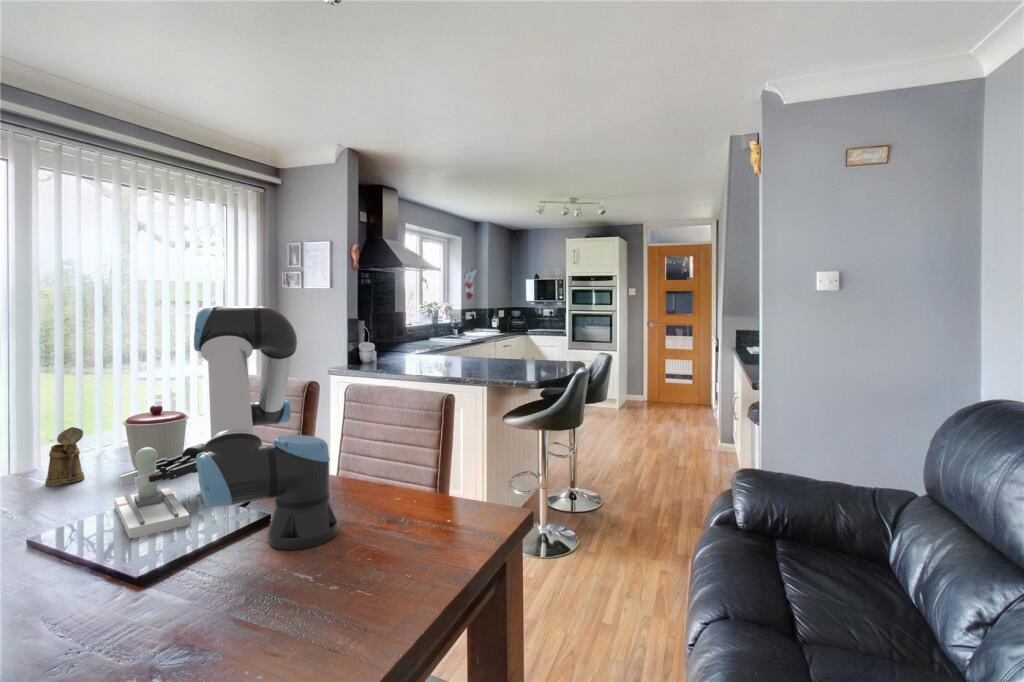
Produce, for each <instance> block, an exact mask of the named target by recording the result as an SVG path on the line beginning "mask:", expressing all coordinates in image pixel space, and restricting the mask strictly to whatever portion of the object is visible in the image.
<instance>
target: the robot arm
mask: <svg viewBox="0 0 1024 682" xmlns="http://www.w3.org/2000/svg"><path fill="white" fill-rule="evenodd" d="M193 334H194V335H193V349H194V351H196V352H199V353H200V355H201V357H202V359H204V360H205V361H207V365H208V388H209V389H208V390H209V391H208V392H209V393H208V395H209V413H210V414H209V418H210V419H209V420H210V439H209V440H207V441H205V442H202V443H199V444H196V445H193V446H190V447H187V448H185V450H183V454H182V455H180V456H176V457H175V458H171V459H167V457H163V458H161V459H160V460H157V461H156V471H153V472H150V473H147V474H144V475H141V476H138V470H134V471H132V472H128V473H126V474H125V473H124V474H122V475H119V476H118V484H119V485H118V487H119V488H123V487H125V486H126V487H127V486H129V485H132V484H134V489H136V490H138V488H141V487H143V486H146V485H149V484H151V483H154V482H157V483H158V482H160V481H161V480H162V481H165V480H168V479H169V480H170V481H172V480H174V479H178V478H180V477H183V476H186V475H189V474H192V473H193V474H195V473H197V474H198V476H197V477H198V482H199V489H200V493H201V497H202V500H203V503H204V504H205V505H206V506H208V507H210V508H213V507H223V506H227V507H229V506H233V505H238V504H244V503H249V502H255V501H259V500H266V499H271V498H275V507H274V511H273V514H272V517H271V521H270V524H269V527H268V529H267V543H268V545H270V546H271V547H272V548H275V549H279V550H283V551H284V550H285V551H286V550H287V551H289V550H290V551H297V550H305V549H309V548H314V547H317V546H319V545H323V544H325V543H327V542H329V541H331V540H332V539H333V538H335V537H336V536H337V534H338V530H339V529H338V520H337V516H336V514H335V512H334V510H333V509H334V508H333V506H332V503H331V501H330V454H329V445H328V442H326V441H325V440H324V439H323V438H320V437H317V436H312V435H304V434H300V435H299V434H287V435H286V434H285V435H280V436H277V437H275V439H274V441H273V444H270V445H263V443H262V439H261V437H260V436H258V435H257V434H256V433H254V427H256V426H269V425H279V424H285V423H288V422H290V420H291V402H290V400H288V399H286V395H287V389H288V382H289V374H290V368H291V360H292V356H294V355H295V353H296V351H297V346H298V345H297V344H298V337H297V333H296V330H295V329H294V326H293V325H292V323H291V322H290V321H289V320H288V318H287V317H286V316H285V315H284V314H282V312H280V311H278V310H276V309H273V308H271V307H268V306H259V305H257V306H245V305H244V306H242V305H241V306H239V305H238V306H237V305H236V306H234V305H212V306H211V305H209V306H202V307H200V308H199V309H198V311H197V313H196V316H195V322H194V333H193ZM253 350H254V351H255V350H259V351H260V353H261V354H262V359H261V360H262V361H261V369H260V371H261V372H260V380H259V381H260V382H259V383H260V384H259V392H258V393H259V394H258V395H259V396H258V401H256V402H255V401H252V402H251V393H250V392H251V391H250V380H249V369H248V359H249V358H250V356H252V354H253Z"/></svg>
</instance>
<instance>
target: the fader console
mask: <svg viewBox="0 0 1024 682" xmlns="http://www.w3.org/2000/svg"><path fill="white" fill-rule="evenodd" d="M157 491H158V492H159V493H160V495H161V496H162V502H159V503H154V504H149V505H144V506H140V507H137V505H136V503H135V502H134V496H136V495H138V493H135V494H130V493H125V494H124V496H119V497H115V498H114V508H116V509H115V511H116V510H117V511H116V513H117V512H118V513H117V515H118V514H119V515H118V517H119V516H120V517H119V519H120V518H121V520H122V522H121V523H123V524H122V526H123V525H124V526H123V528H124V527H125V528H124V530H126V531H125V532H127V533H126V535H127V534H128V535H127V536H129V537H128V539H129V540H131V539H130V538H133V539H136V538H140V536H141V537H145V536H149V535H152V533H153V534H157V533H161V532H160V531H162V532H164V531H163V530H166V531H168V530H167V529H170V528H174V529H176V528H175V527H178V528H180V527H179V526H182V527H185V526H184V525H187V526H189V525H188V524H190V525H191V521H190V519H191V518H190V517H191V516H190V515H191V514H190V513H189V512H188V511H187V509H185V507H184V506H183V505H182V503H181V502H180V501H179V500H178V498H177V497H176V495H175V494H174V493H173V492H172V491H171V490H170V488H169V487H166V488H160V487H158V486H157ZM121 520H120V521H121ZM170 530H171V529H170ZM156 532H157V533H156ZM148 534H149V535H148ZM144 535H145V536H144Z"/></svg>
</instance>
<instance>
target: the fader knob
mask: <svg viewBox="0 0 1024 682" xmlns="http://www.w3.org/2000/svg"><path fill="white" fill-rule="evenodd" d="M157 458H158V453H157V451H156V450H155V449H153V448H151V447H145V448H142V449H140V450H139V451H138V452H137V453H136V456H135V460H136V462H137V470H138V476H141V475H144V474H147V473H150V472H153V471H156V460H157ZM137 470H136V471H137ZM157 488H158V481H157V482H154V483H151V484H149V485H146V486H143V487H141V488H138V489H137V492H138V493H137V494H138V495H136V496H134V502H135V503H136V505H137V507H140V506H144V505H149V504H154V503H159V502H162V496H161V495H160V493H159V492H158V491H157Z"/></svg>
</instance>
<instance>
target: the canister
mask: <svg viewBox="0 0 1024 682" xmlns="http://www.w3.org/2000/svg"><path fill="white" fill-rule="evenodd" d="M189 418H190V417H189V415H188V414H185V413H184V412H181V411H175V410H163V406H161V405H160V404H154V405H151V406H150V407H149V412H144V413H139V414H135V415H131V416H129V417H128V418H126V419H125V420H123V421H122V424H123V426H125V432H126V438H127V444H128V449H129V450H128V451H129V455H130V459H131V463H132V466H133V468H134V469H135V471H137V462H136V460H135V456H136V453H137V452H138V451H139V450H140V449H142V448H145V447H151V448H153V449H155V450H156V451H157V453H158V458H157V460H160V459H161V458H163V457H167V459H171V458H175V457H176V456H180V455H182V454H183V452H184V451H185V450H184V449H185V439H186V428H187V420H189ZM157 460H156V461H157Z"/></svg>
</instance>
